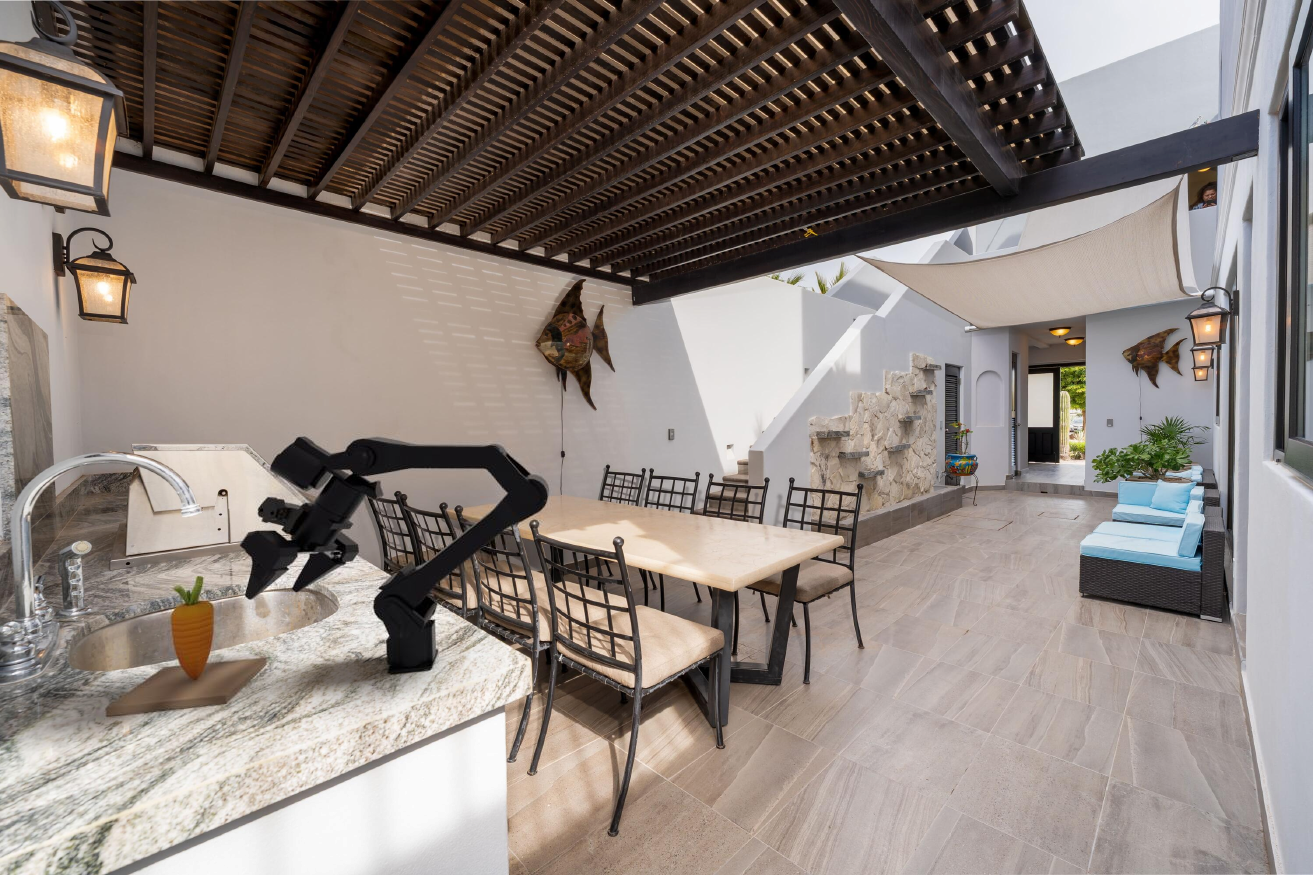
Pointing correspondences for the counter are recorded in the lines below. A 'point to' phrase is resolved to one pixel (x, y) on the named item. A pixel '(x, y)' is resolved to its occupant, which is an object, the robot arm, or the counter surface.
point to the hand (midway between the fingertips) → (272, 594)
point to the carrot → (192, 630)
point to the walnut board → (188, 687)
